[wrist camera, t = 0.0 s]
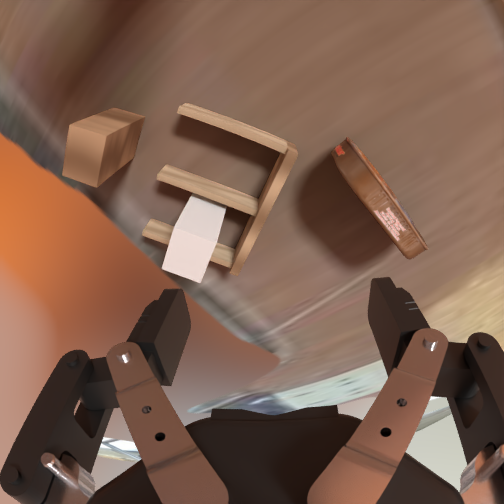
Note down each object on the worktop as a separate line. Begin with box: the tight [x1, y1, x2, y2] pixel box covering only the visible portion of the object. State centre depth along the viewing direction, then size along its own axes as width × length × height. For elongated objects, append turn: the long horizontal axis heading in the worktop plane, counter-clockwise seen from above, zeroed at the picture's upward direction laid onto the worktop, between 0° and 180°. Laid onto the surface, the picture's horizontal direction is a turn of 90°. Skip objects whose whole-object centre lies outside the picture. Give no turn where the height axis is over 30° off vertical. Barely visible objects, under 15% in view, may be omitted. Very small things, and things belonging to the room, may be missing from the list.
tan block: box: [63, 108, 145, 188], centre depth 27 cm, size 5×4×9 cm
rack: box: [142, 103, 298, 276], centre depth 32 cm, size 15×12×4 cm
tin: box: [331, 137, 428, 259], centre depth 29 cm, size 15×3×8 cm, turn 46°
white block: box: [162, 193, 227, 283], centre depth 32 cm, size 5×4×9 cm
